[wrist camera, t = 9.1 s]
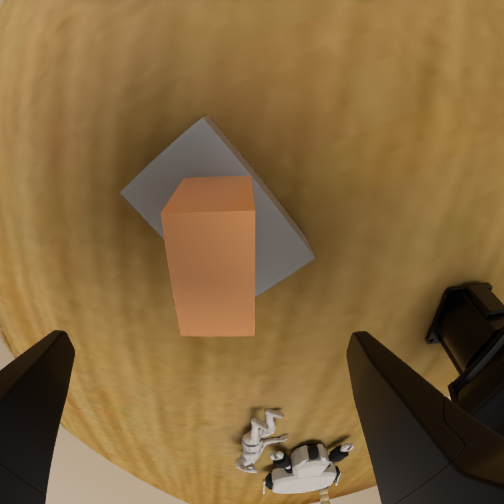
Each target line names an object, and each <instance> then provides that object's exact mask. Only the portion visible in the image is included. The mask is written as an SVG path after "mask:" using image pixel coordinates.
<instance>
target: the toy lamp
mask: <svg viewBox="0 0 504 504" xmlns="http://www.w3.org/2000/svg"><path fill="white" fill-rule="evenodd" d="M328 487H329V486H328ZM328 487H326V488H323V489H319V495H320V501H321V504H330V502H329V496H328V489H327V488H328Z"/></svg>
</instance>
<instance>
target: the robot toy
mask: <svg viewBox="0 0 504 504" xmlns="http://www.w3.org/2000/svg"><path fill="white" fill-rule="evenodd" d="M353 448H354V445H353V444H350V443H345V444H343V445H339V446H337V447H336V448H334V449H333V450H332V451H330V454H329V458H328V454H327V450H326V448H324V447H323V444H318V445H310V446H307V445H305V446H302V447H300V448H296V450H294V452H293V453H292V454H291V463H290V459H289V456H288V455H287V454H286V453H285V452H281V451H278V452H276V453H270V458H271V459H272V460H273V462H274V464H275V465H276V466H277V467H278V468H275V469H273V471H272V472H271V473H269V474H268V475H267V476H266V478H265V479H263V494H265V485H266V486H267V487H268V488H269V489H271V490H272V491H273V492H275V493H279V494H292V493H304V492H310V491H315V490H319V489H323V488H326V487H328V486H331V484H332V483H333V482H335V480H336V479H337V480H336V482H335V486H337V483H338V480H339V476H340V475H341V471H339V468H338V466H335V465H334V464H333V463H331V462H339V461H341V460H343V459H344V458H345V457H347V456H348V451H350V450H352V449H353Z"/></svg>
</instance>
